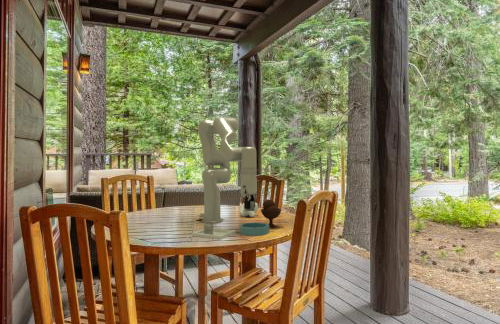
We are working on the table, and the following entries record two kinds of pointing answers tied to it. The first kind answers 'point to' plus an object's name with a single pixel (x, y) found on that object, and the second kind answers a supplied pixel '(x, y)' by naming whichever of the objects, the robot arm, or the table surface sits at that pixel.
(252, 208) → the stone
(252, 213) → the white lumpy chunk
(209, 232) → the stone
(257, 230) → the bowl
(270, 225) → the ice cream bowl
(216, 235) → the parts tray
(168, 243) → the table surface
